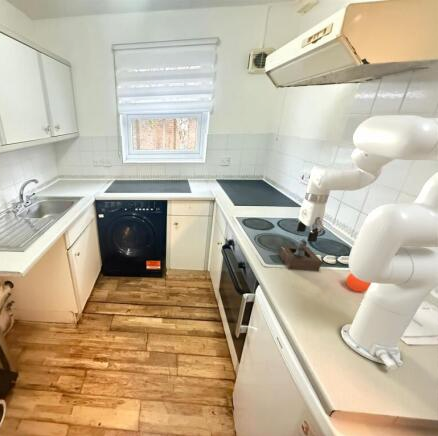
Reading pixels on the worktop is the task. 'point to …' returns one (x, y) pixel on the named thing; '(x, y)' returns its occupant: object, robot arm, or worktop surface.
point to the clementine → (357, 283)
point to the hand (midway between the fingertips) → (305, 236)
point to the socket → (299, 259)
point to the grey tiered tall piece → (300, 249)
